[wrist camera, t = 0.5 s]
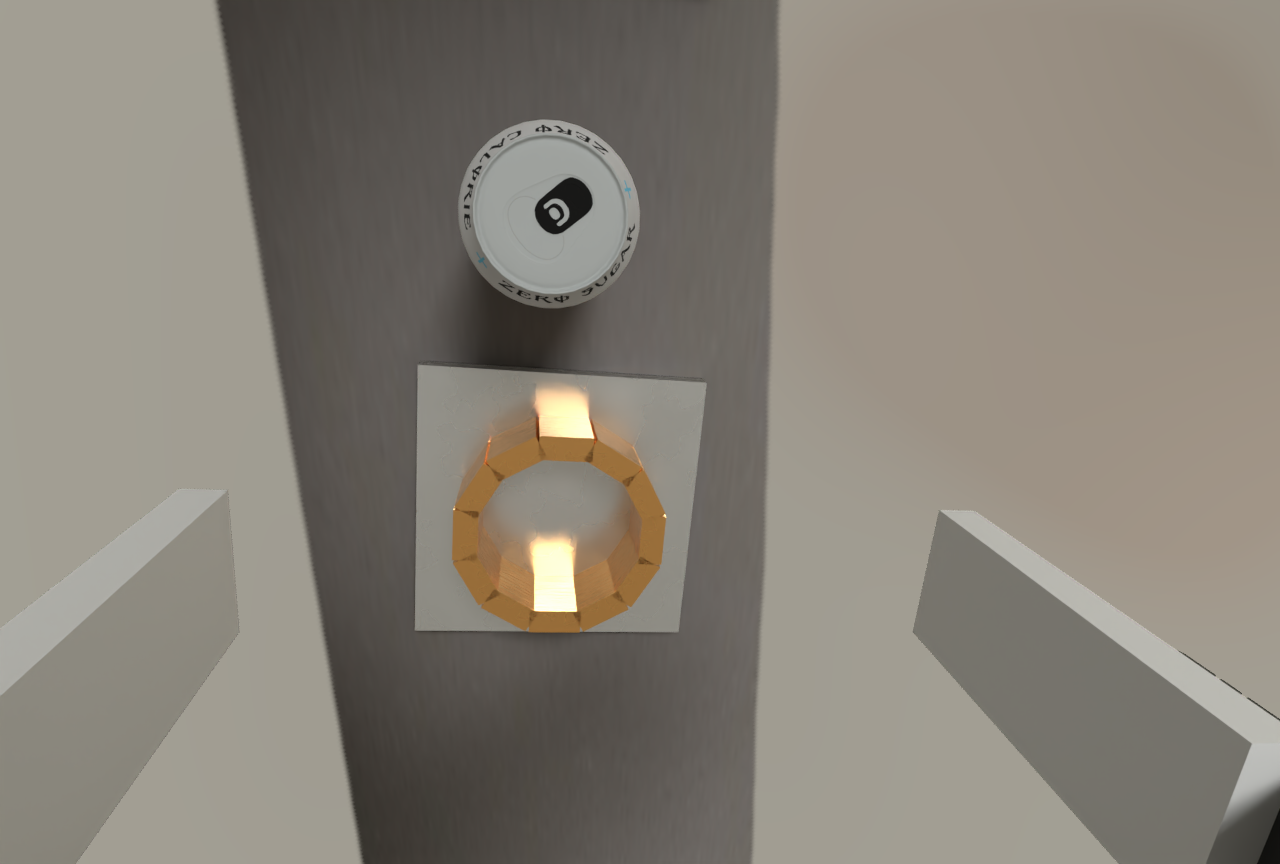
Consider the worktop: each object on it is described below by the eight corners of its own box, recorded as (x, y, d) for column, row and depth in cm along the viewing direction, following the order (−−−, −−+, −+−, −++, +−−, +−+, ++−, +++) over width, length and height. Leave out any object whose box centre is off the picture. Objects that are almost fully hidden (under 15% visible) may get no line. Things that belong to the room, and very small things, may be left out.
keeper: (421, 360, 38) (404, 380, 33) (701, 378, 40) (725, 399, 35) (418, 619, 42) (402, 672, 37) (674, 621, 44) (692, 671, 39)
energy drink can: (459, 209, 36) (409, 195, 22) (554, 133, 36) (566, 67, 21) (537, 306, 38) (537, 351, 23) (628, 234, 37) (685, 235, 23)
